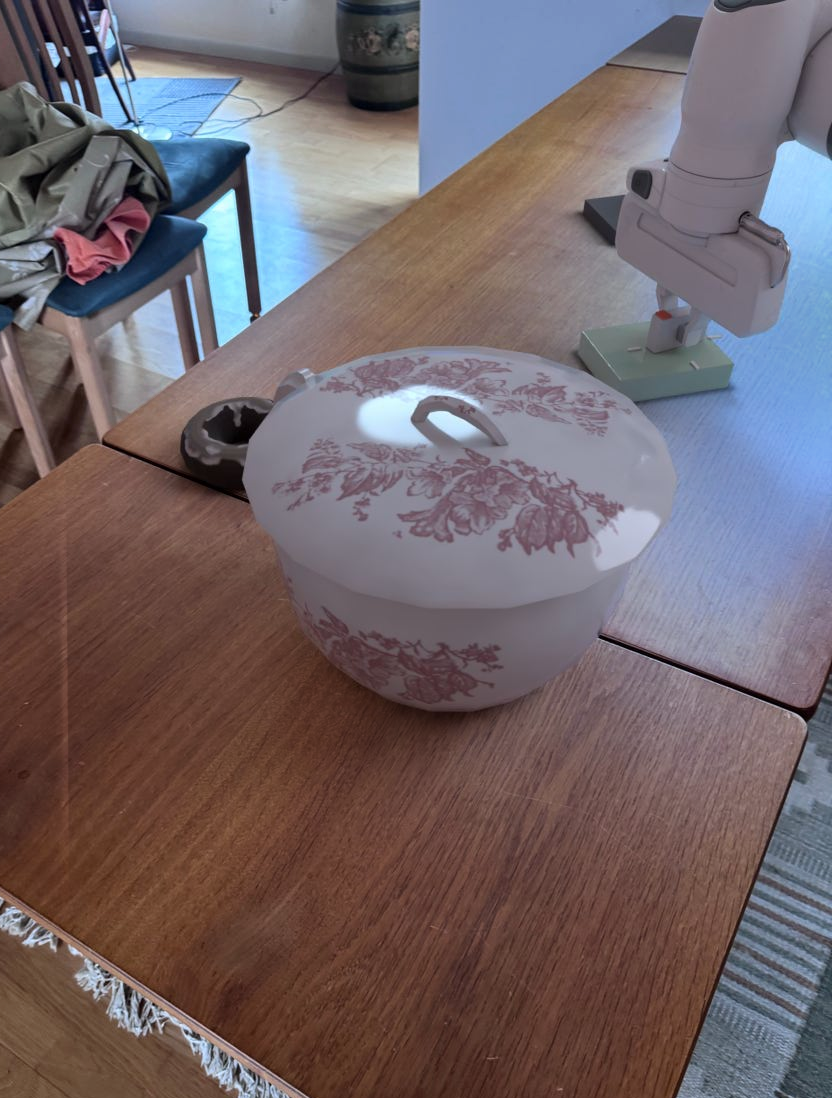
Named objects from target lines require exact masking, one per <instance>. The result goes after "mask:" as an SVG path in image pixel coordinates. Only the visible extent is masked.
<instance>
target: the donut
mask: <svg viewBox="0 0 832 1098" xmlns="http://www.w3.org/2000/svg"><path fill="white" fill-rule="evenodd" d="M273 400H274V399H270V398H265V397H258V396H238V397H231V398H226V399H222V400H219V401H216V402H212V403H211V404H209V405H207V406H205V407H203V408H201V409H200V410H198V411H197V412H196V413H195V414H194V415H192V417H191V418H190V419H189V420H188V421H187V423H186V424H185V426H184V428H183V430H182V431H181V435H180V442H179V452H180V454H181V457H182V459H183V462H184V465H185V466H186V468H187V469H188V470H189V471H190V472H191V473H192V474H193V475H194V476H196V477H197V478H198V479H199V480H201V481H204V482H205V483H207V484H210V485H212V486H214V487H219V488H224V489H229V490H246V489H245V487H244V484H243V481H242V478H243V472H244V467H245V461H246V456H247V450H248V445H249V442H246V443H234V442H237V441H242V440H243V441H244V440H250V438H251V437H252V436H253V434H254V433H255V431H256V430H257V429H258V427H259V426H260V425H261V423H262V422H263V421H264V419H265V418H266V416H267V415H268V414H269V412H270V411H271V410H272V408H273V407H274V402H273Z"/></svg>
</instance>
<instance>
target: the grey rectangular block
mask: <svg viewBox="0 0 832 1098" xmlns="http://www.w3.org/2000/svg"><path fill="white" fill-rule="evenodd" d="M690 310H691V305H689V304H687V305H684V306H678V308H675V309H671V310H667V311H665V310H661V311H659V310H658V311H655V312H654V313H652V315H651V319H650V321H651V324H650V328H649V332H648V337H647V341H646V347H647V348H648V349H650V350H651V351H652V352H653V353H658V352H661V351H665V350H669V349H673V348H676V347H680V346H684V345H682V344H681V343H680V342H679V341H677V340H676V336H677V335H678V327H679V325H682V324H688V323H689V322H690V321H691V320H692V318H693V317H694V316H691V315H690ZM708 327H709V323H708V324H707V325H706V326H705V327H704V328H703V329H702V333H701V336H700V340H699V341H703V340H704V337H705V334H706V335H707V330H708Z"/></svg>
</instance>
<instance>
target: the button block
mask: <svg viewBox="0 0 832 1098" xmlns="http://www.w3.org/2000/svg"><path fill="white" fill-rule="evenodd" d="M625 195H626V194H619V195H618V194H617V195H610V196H602V197H594V198H586V199H584V203H583V210H582V215H583V216H584V217H585V218H586V219H587V221H589V222H590V224H591V225H592V226H594V228H596V229H597V231H598V232H599V233H600V234H601V235H602V236H603V237H604V238H605V239H606V240H607V241H608V242H609V243H610V244H611V245H612V246H613V247H614V246H615V247H616V245H615V238H616V231H617V225H618V219H619V214H620V210H621V206H622V202H623V199H624V197H625Z"/></svg>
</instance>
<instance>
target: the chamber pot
mask: <svg viewBox="0 0 832 1098" xmlns="http://www.w3.org/2000/svg"><path fill="white" fill-rule="evenodd" d="M272 400H273V402H274V407H273V408H272V410H271V411H270V412H269V414H268V415H267V416H266V418H265V419H264V421H263V422H262V423H261V425H260V426H259V427H258V429H257V430H256V431H255V433H254V434H253V436H252V437H251V438H250V439H248V443H249V445H248V450H247V456H246V461H245V467H244V472H243V478H242V481H243V484H244V487H245V489H244V490H245V493H246V496H247V499H248V501H249V505H250V506H251V510H252V512H253V513H252V514H253V515H254V518H255V522H256V523H257V524H258V525H259V526H260V527H261V528H262V529H263V530H264V531H265V532H266V533H267V534H268V535H269V536H270V537H271V538H272V540H273V547H274V554H275V561H276V564H277V568H278V571H279V573H280V576H281V578H282V582H283V585H284V588H285V590H286V593H287V595H288V598H289V599H288V600H289V601H290V603H291V607H292V608H293V611H294V613H295V615H296V618H297V620H298V623H299V625H300V628H301V630H302V632H303V634H304V635H305V636H306V638H307V639H309V641H310V642H311V643H312V644H313V645H314V646H315V647H316V648H317V650H318V651H319V652H320V653H321V654H322V655H323V656H324V657H325V658H326V659H327V661H329V663H330V664H331V665H332V666H333V667H335V668H336V669H338V670H339V671H341V672H342V673H343V674H345V675H347V677H349V678H351V679H352V680H354V681H355V682H356V683H358V684H360V685H361V686H363V687H365V688H366V689H368V690H370V691H371V692H373V693H375V694H377V695H379V696H380V697H382V698H384V699H385V700H388V701H389V702H393V703H396V704H400V705H404V706H408V707H411V708H414V709H415V708H416V709H419V710H424V711H427V712H465V713H467V712H468V713H469V712H475V711H479V710H485V709H488V708H491V707H496V706H500V705H504V704H508V703H511V702H513V701H516V700H517V699H519V698H521V697H523V696H525V695H527V694H529V693H531V692H533V691H535V690H537V689H538V688H540V687H541V686H543V685H545V684H547V683H548V682H550V681H552V680H553V679H555V678H557V677H558V676H560V675H562V674H563V673H565V672H566V671H568V670H570V669H572V668H573V667H574V666H577V665H578V663H579V661H580V660H581V659H582V658H583V657H584V655H585V654H586V653H587V652H588V650H589V649H590V648H591V647H592V645H593V644H594V643H595V642H596V640H597V639H598V638H599V637H600V635H601V634H602V633H603V631H604V629H605V628H606V626H607V624H608V623H609V620H610V619H611V618H612V616H613V614H614V612H615V610H616V609H617V607H618V606H619V604H620V602H621V601H622V600H623V596H624V592H625V588H626V585H627V581H628V578H629V574H630V571H631V565H632V563H634V562H636V561H638V560H639V558H640V557H641V556H642V555H643V554H644V552H646V550H647V549H648V548H649V546H650V545H651V544H652V543H653V541H654V540H655V539H656V538H657V537H658V535H659V534H660V533H661V531H662V530H663V529H664V528H665V527H666V525H667V524H668V523H669V522H670V521H671V518H672V517H671V516H672V512H673V511H672V510H673V506H674V502H675V501H674V500H675V495H676V492H677V491H676V490H677V486H678V485H677V484H678V480H679V476H678V473H677V470H676V467H675V465H674V461H673V459H672V456H671V455H672V454H671V453H670V450H669V447H668V444H667V441H666V438H665V435H663V434H662V432H661V431H660V429H658V427H656V426H655V424H654V423H653V422H652V421H651V420H650V419H649V418H648V417H647V416H646V415H645V413H644V412H642V410H641V409H640V408H639V407H638V405H637V404H635V402H632V401H631V399H630V398H628V397H626V396H625V395H623V394H621V393H620V392H618V391H616V390H615V389H613V388H611V387H610V386H608V385H606V384H605V383H603V382H601V381H600V380H598V379H596V378H595V376H594V375H591V374H590V373H588V372H586V371H584V370H581V369H578V368H575V367H572V366H569V365H566V364H564V363H561V362H557V361H555V360H551V359H549V358H546V357H543V356H540V355H537V354H534V353H528V352H521V351H515V350H509V349H501V348H494V347H488V346H482V345H421V346H420V345H418V346H413V347H407V348H403V349H397V350H391V351H386V352H380V353H375V354H370V355H364V356H362V357H359V358H357V359H354V360H351V361H348V362H346V363H344V364H341V365H338V366H336V367H333V368H331V369H328V370H326V371H323V372H319V373H314V372H313V371H312V370H311V369H309V368H308V367H303V368H299V369H296V370H294V371H291V372H289V373H288V374H287V375H286V376H285V377H284V378H283V379H282V380H281V382H280V383H279V385H278V386H277V388H276V391H275V394H274V397H273V399H272Z"/></svg>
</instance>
